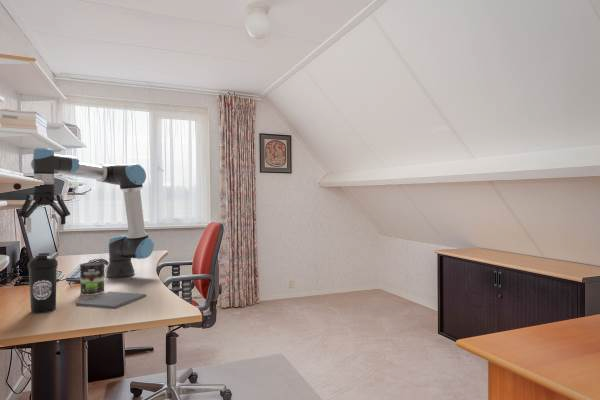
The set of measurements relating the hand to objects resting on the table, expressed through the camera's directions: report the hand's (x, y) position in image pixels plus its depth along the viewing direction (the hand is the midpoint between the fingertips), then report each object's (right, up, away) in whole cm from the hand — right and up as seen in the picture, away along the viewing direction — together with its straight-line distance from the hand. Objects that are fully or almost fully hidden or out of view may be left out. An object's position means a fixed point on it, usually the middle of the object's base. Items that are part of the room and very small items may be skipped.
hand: (44, 232), depth 170 cm
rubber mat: (+29, -31, +2) cm, 42 cm away
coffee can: (+13, -31, +16) cm, 37 cm away
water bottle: (+7, -31, -12) cm, 34 cm away
